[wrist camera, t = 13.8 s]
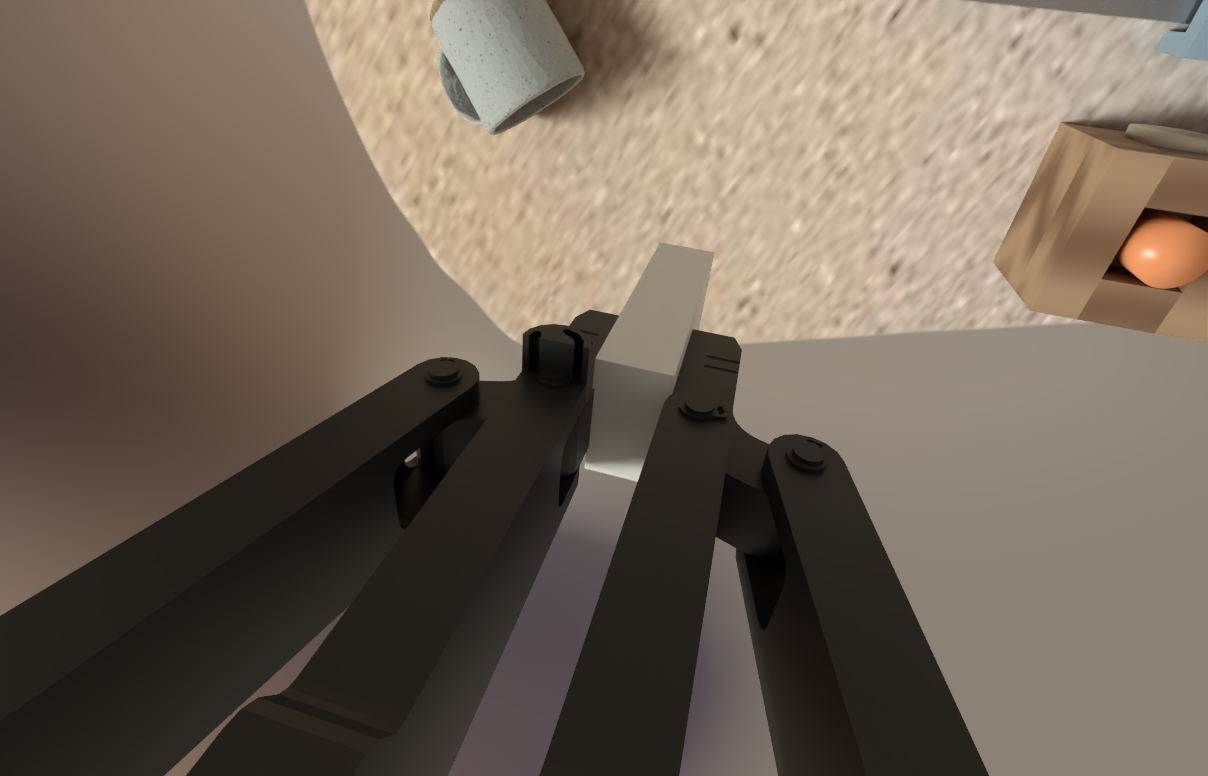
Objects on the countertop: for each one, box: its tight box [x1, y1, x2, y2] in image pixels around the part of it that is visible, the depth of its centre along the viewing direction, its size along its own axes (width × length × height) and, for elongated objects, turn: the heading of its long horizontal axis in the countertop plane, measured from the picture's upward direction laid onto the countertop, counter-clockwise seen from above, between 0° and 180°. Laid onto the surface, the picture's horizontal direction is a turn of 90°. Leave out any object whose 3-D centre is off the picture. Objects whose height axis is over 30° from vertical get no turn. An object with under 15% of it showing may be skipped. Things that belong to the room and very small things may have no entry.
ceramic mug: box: [430, 0, 585, 135], centre depth 39 cm, size 11×8×8 cm
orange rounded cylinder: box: [1114, 210, 1208, 289], centre depth 32 cm, size 3×3×3 cm
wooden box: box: [993, 123, 1208, 342], centre depth 35 cm, size 10×9×8 cm
